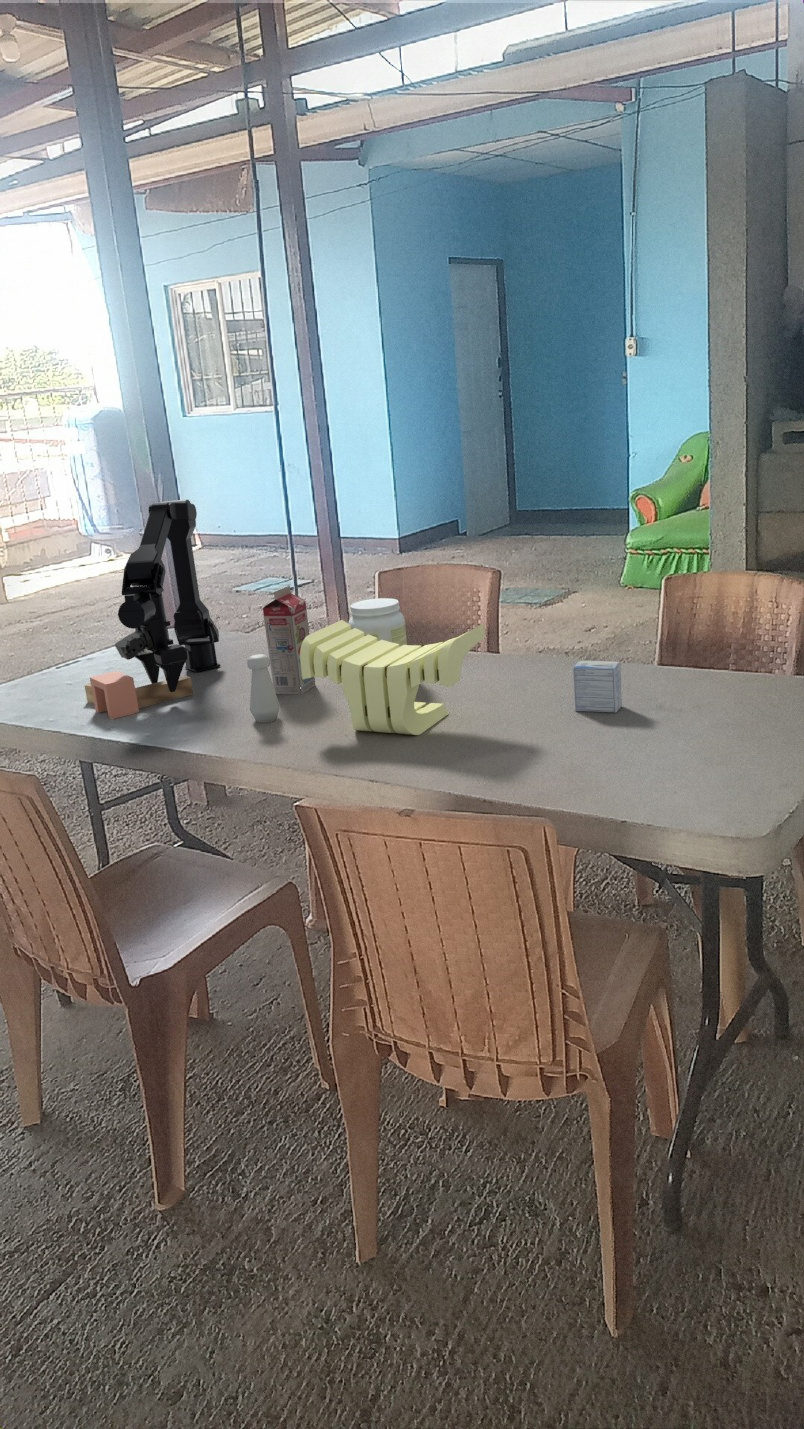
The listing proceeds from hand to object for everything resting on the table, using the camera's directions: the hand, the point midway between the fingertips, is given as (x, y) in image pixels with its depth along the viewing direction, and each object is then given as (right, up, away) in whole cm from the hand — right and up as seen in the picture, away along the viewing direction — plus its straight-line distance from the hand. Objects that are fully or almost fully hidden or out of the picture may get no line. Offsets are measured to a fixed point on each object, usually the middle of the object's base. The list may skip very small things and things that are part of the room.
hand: (163, 688), depth 233 cm
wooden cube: (-15, -3, +5) cm, 16 cm away
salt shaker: (+25, -7, -20) cm, 33 cm away
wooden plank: (-2, -3, -1) cm, 4 cm away
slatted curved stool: (+51, -8, -31) cm, 60 cm away
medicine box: (+88, -5, -33) cm, 94 cm away
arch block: (-9, -5, -5) cm, 11 cm away
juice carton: (+29, 0, -1) cm, 29 cm away
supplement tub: (+47, +2, 0) cm, 47 cm away
